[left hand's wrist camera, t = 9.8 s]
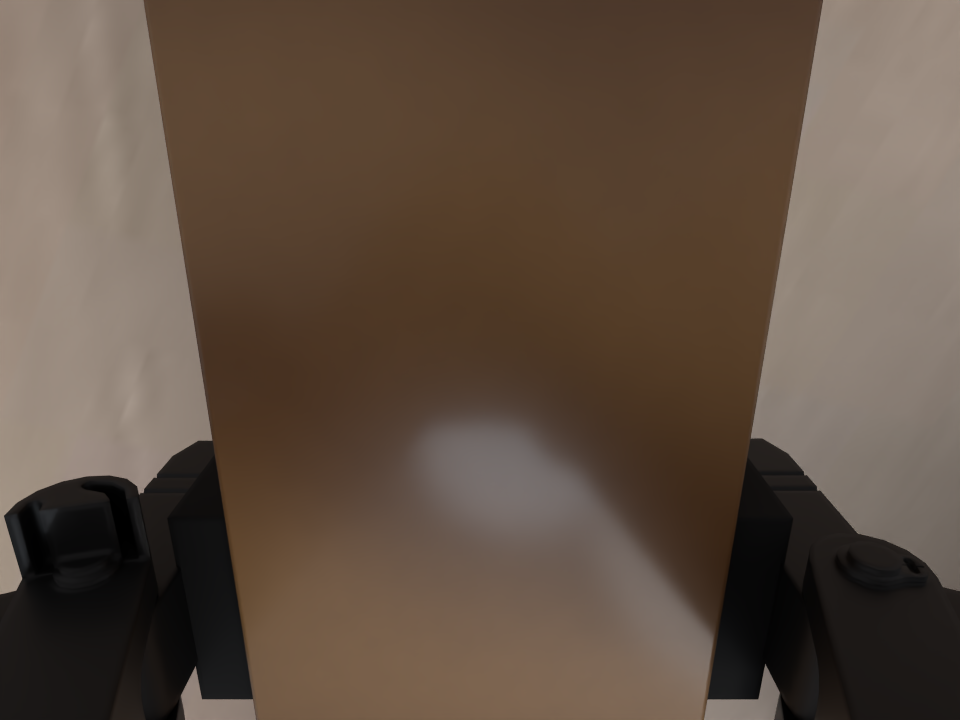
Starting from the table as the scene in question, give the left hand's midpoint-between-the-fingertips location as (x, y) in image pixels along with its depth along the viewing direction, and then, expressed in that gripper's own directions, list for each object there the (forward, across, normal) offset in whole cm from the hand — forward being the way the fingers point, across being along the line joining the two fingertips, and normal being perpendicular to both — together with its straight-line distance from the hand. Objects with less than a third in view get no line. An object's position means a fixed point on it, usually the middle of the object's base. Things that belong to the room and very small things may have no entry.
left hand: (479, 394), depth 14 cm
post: (+1, 0, -27) cm, 27 cm away
